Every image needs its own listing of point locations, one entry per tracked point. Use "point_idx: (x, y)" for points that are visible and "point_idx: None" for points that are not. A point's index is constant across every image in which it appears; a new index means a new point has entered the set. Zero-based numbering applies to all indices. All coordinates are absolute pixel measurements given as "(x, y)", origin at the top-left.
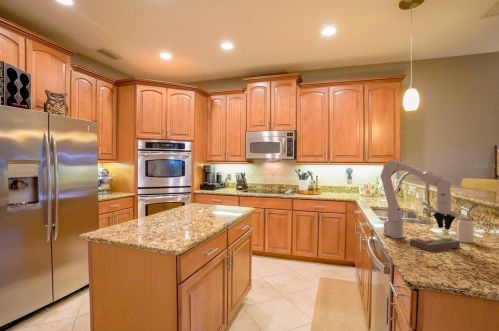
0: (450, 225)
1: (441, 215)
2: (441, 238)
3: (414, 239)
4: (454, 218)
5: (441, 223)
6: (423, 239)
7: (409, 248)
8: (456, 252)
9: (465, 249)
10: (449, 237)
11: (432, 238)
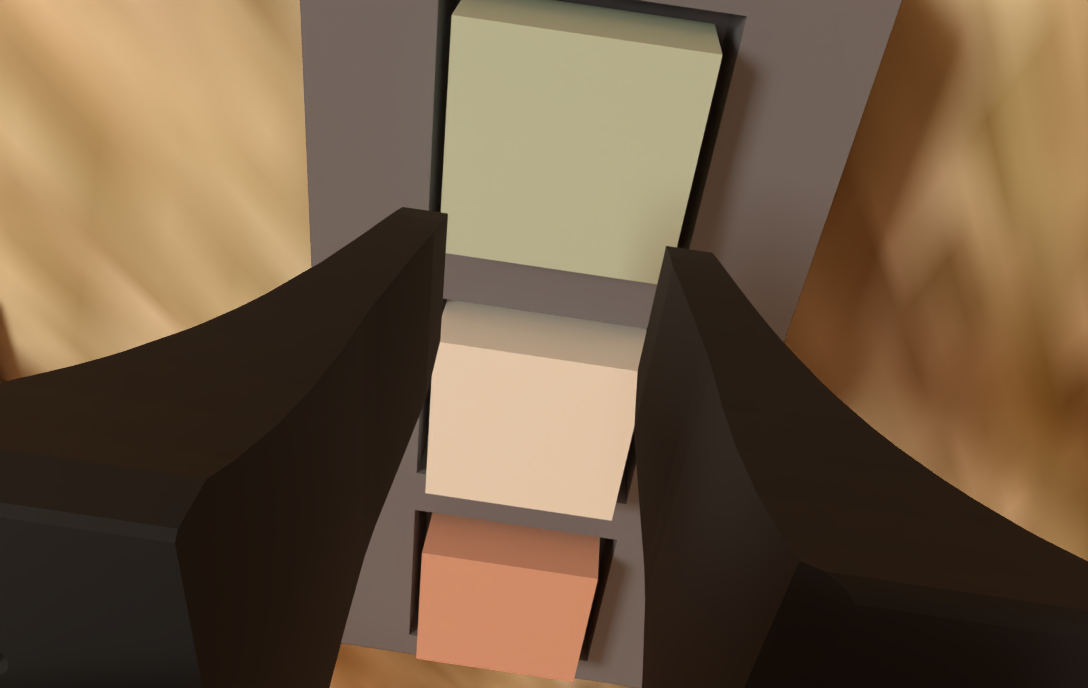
0: (761, 332)
1: (259, 686)
2: (572, 261)
3: (376, 623)
4: (1060, 573)
5: (398, 356)
6: (509, 647)
7: (478, 679)
8: (938, 366)
9: (1013, 4)
10: (665, 68)
11: (531, 490)
